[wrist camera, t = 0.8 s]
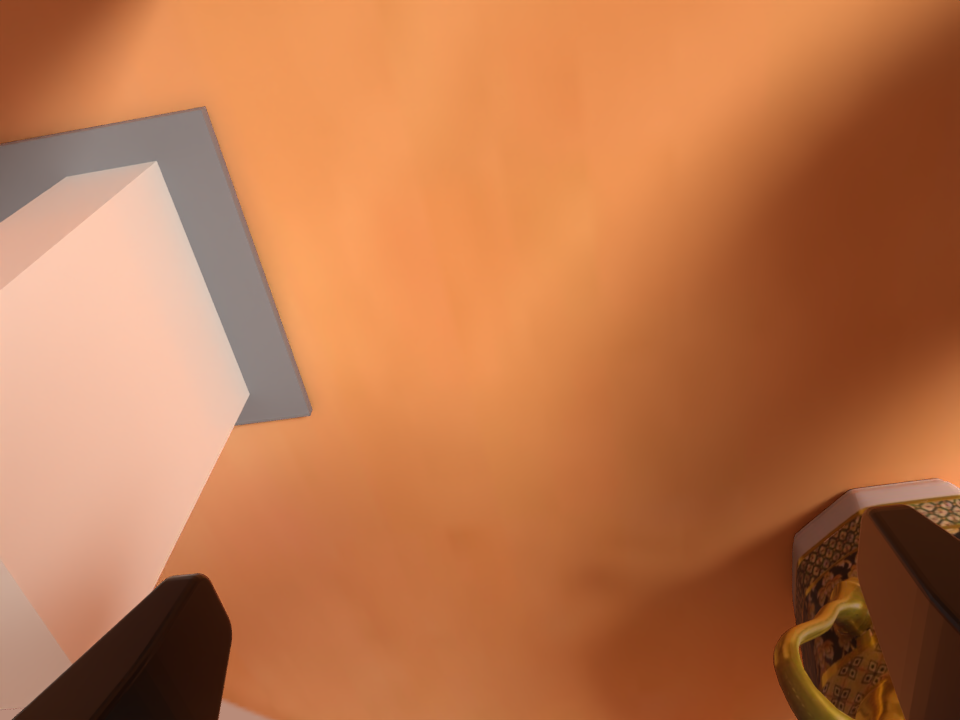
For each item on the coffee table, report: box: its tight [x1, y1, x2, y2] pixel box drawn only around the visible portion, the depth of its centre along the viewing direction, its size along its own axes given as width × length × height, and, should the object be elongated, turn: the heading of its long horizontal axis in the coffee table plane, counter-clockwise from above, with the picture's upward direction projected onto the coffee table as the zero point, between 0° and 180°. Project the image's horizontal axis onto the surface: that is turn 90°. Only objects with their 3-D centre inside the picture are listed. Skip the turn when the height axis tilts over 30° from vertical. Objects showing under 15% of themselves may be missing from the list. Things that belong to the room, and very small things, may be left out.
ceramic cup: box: [773, 479, 960, 720], centre depth 21 cm, size 13×10×10 cm
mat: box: [0, 107, 312, 426], centre depth 22 cm, size 14×9×1 cm, turn 100°
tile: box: [0, 161, 250, 710], centre depth 17 cm, size 2×7×10 cm, turn 10°
